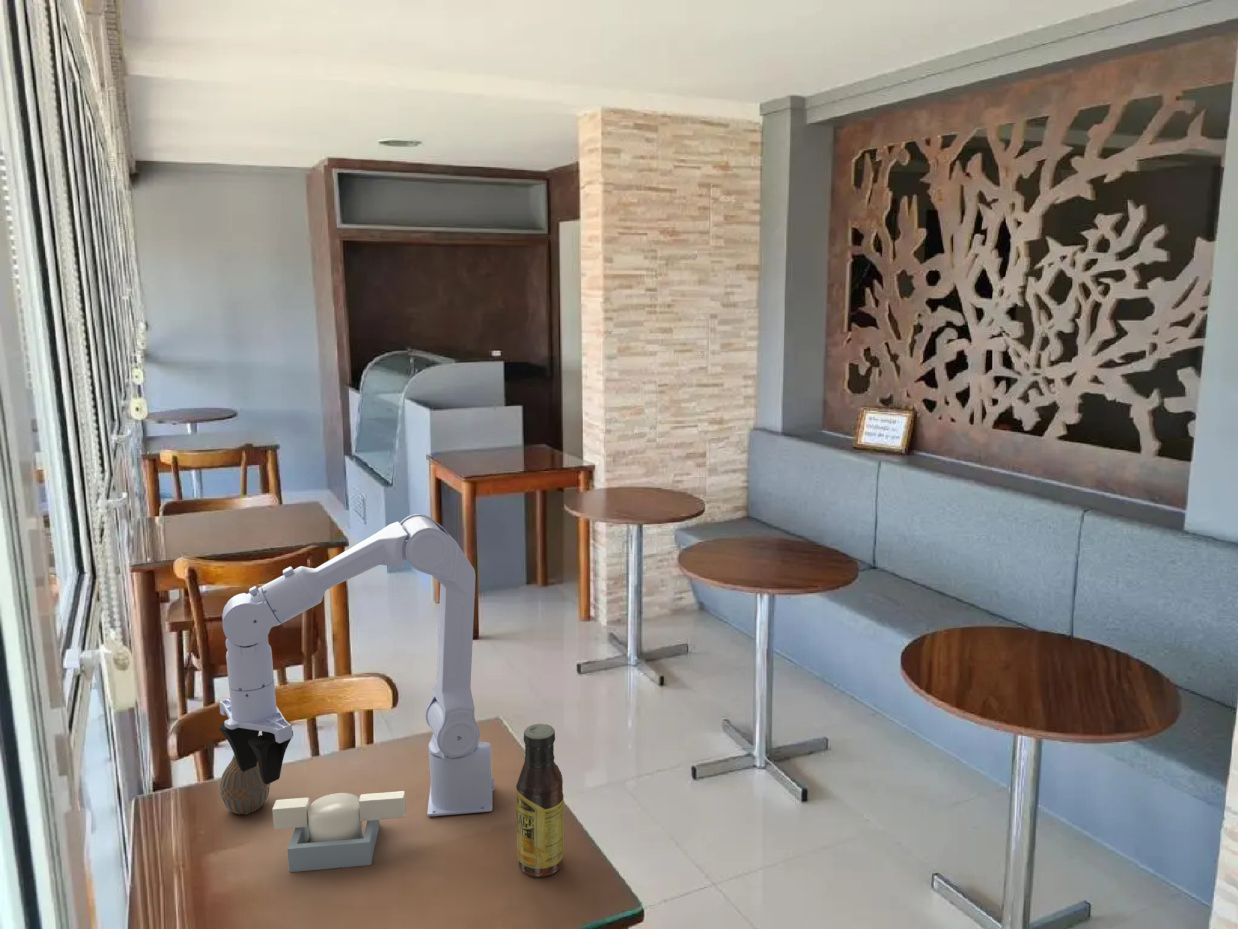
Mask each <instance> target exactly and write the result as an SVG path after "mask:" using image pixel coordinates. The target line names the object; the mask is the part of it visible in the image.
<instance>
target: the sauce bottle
mask: <svg viewBox="0 0 1238 929" xmlns="http://www.w3.org/2000/svg"><path fill="white" fill-rule="evenodd" d="M555 741H556V732H555V728H553V726H552V725H549V724H545V723H536V724H535V723H534V724H531V725H529V726H526V728H525V729H524V731H523V742H524V753H525V756H524V763H523V765H522V768H521V771H520V774H519V777H518V780H517V782H516V785H515V795H516V796H515V799H516V802H515V803H516V804H515V805H516V806H515V807H516V808H515V812H516V814H515V815H516V816H515V818H516V852H517V859H518V866H519V870H521V872H523V873H525V875H528V876H529V877H532V878H541V877H547V876H551V875H554V874H555V873H557V872H558V871H559V870H560V869H561V868H562V867H563V862H564V861H563V860H564V858H563V857H564V854H565V853H564V852H565V850H564V848H565V847H564V842H565V841H564V840H565V839H564V836H565V835H564V834H565V833H564V831H565V830H564V828H565V827H564V824H565V821H564V820H565V819H564V817H565V815H564V811H565V810H564V809H565V808H564V804H565V802H564V793H563V790H564V788H563V784H564V783H563V782H564V781H563V775H562V771H561V770H560V767H559V765H558V764H556V762H555V754H554V751H555V750H554V743H555Z"/></svg>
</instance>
